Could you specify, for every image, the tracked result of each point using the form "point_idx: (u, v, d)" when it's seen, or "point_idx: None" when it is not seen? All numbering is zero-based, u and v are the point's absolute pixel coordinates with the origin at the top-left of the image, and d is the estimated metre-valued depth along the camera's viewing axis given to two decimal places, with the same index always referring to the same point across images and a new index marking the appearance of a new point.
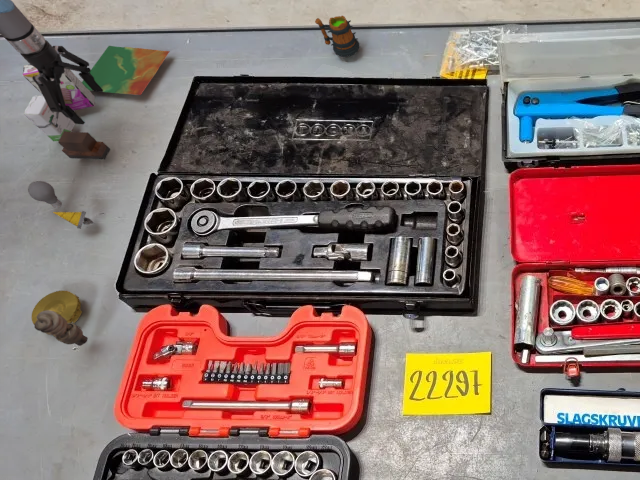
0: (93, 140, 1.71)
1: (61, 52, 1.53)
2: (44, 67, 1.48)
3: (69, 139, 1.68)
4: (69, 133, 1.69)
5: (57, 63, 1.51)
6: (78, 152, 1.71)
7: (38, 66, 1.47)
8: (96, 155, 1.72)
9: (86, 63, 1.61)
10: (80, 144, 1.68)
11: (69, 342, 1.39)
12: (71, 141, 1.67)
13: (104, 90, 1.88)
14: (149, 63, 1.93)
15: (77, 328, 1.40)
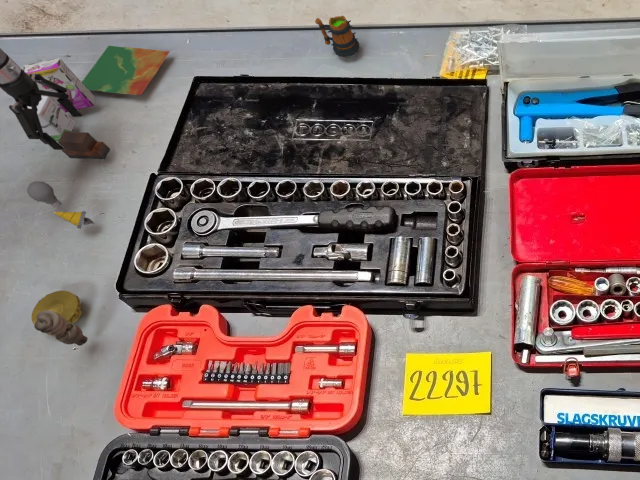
0: (93, 140, 1.71)
1: (38, 80, 1.55)
2: (20, 96, 1.50)
3: (69, 139, 1.68)
4: (69, 133, 1.69)
5: (34, 91, 1.53)
6: (78, 152, 1.71)
7: (15, 95, 1.49)
8: (96, 155, 1.72)
9: (64, 89, 1.63)
10: (80, 144, 1.68)
11: (69, 342, 1.39)
12: (71, 141, 1.67)
13: (104, 90, 1.88)
14: (149, 63, 1.93)
15: (77, 328, 1.40)
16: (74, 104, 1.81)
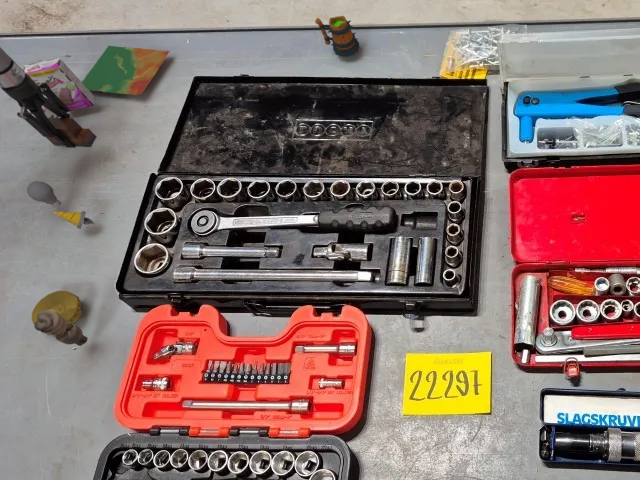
0: (79, 127, 1.66)
1: (43, 88, 1.57)
2: (24, 100, 1.51)
3: (54, 125, 1.62)
4: (54, 119, 1.64)
5: (37, 94, 1.54)
6: None
7: (18, 99, 1.50)
8: (82, 142, 1.67)
9: (66, 108, 1.64)
10: (65, 130, 1.62)
11: (69, 342, 1.39)
12: (56, 127, 1.62)
13: (104, 90, 1.88)
14: (149, 63, 1.93)
15: (77, 328, 1.40)
16: (74, 104, 1.81)
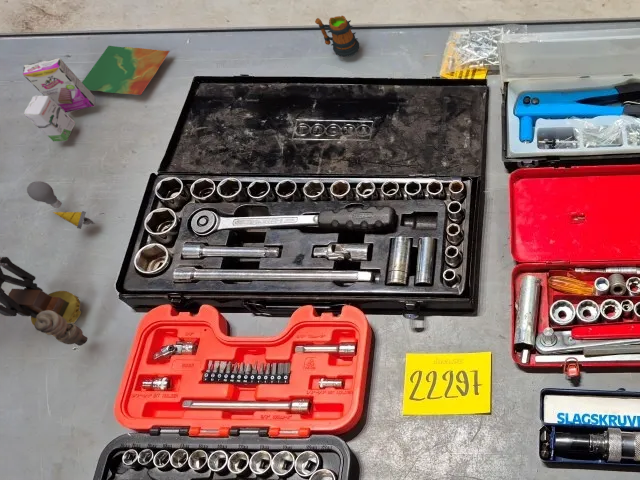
0: (47, 297, 1.44)
1: (3, 263, 1.35)
2: None
3: (18, 299, 1.41)
4: (18, 291, 1.42)
5: None
6: None
7: None
8: None
9: (32, 277, 1.42)
10: (31, 306, 1.40)
11: (69, 342, 1.39)
12: (20, 302, 1.40)
13: (104, 90, 1.88)
14: (149, 63, 1.93)
15: (77, 328, 1.40)
16: (74, 104, 1.81)
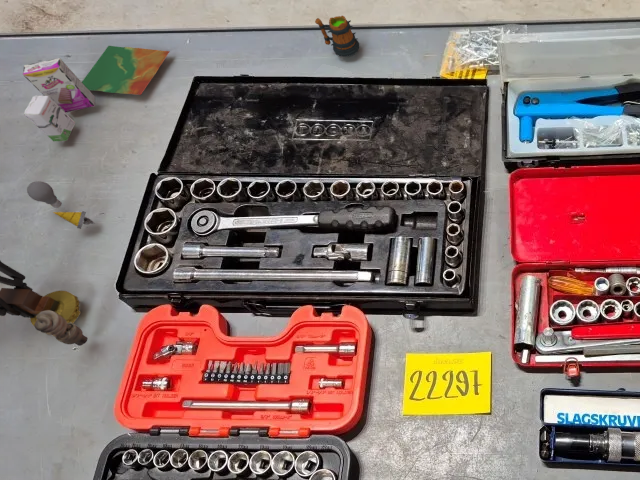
0: (37, 296, 1.44)
1: None
2: None
3: (7, 298, 1.41)
4: (7, 290, 1.42)
5: None
6: None
7: None
8: None
9: (21, 277, 1.42)
10: (21, 305, 1.40)
11: (69, 342, 1.39)
12: (10, 301, 1.40)
13: (104, 89, 1.88)
14: (149, 63, 1.93)
15: (77, 328, 1.40)
16: (74, 104, 1.81)
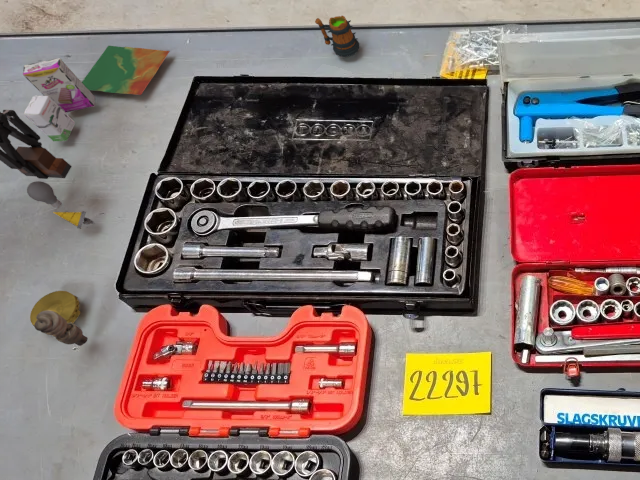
0: (51, 156, 1.52)
1: (10, 116, 1.43)
2: None
3: (23, 155, 1.49)
4: (24, 149, 1.50)
5: (2, 123, 1.40)
6: None
7: None
8: (54, 173, 1.53)
9: (37, 136, 1.50)
10: (36, 161, 1.48)
11: (69, 342, 1.39)
12: (26, 157, 1.48)
13: (104, 89, 1.88)
14: (149, 63, 1.93)
15: (77, 328, 1.40)
16: (74, 104, 1.81)
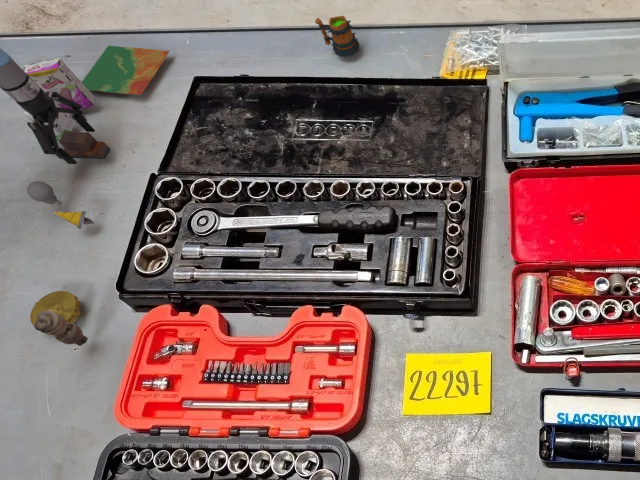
0: (94, 140, 1.71)
1: (55, 97, 1.61)
2: (38, 113, 1.55)
3: (70, 139, 1.68)
4: (70, 133, 1.69)
5: (51, 108, 1.59)
6: (79, 152, 1.71)
7: (33, 112, 1.54)
8: (97, 155, 1.72)
9: (79, 106, 1.69)
10: (81, 144, 1.68)
11: (69, 342, 1.39)
12: (72, 141, 1.67)
13: (104, 89, 1.88)
14: (149, 63, 1.93)
15: (77, 328, 1.40)
16: None
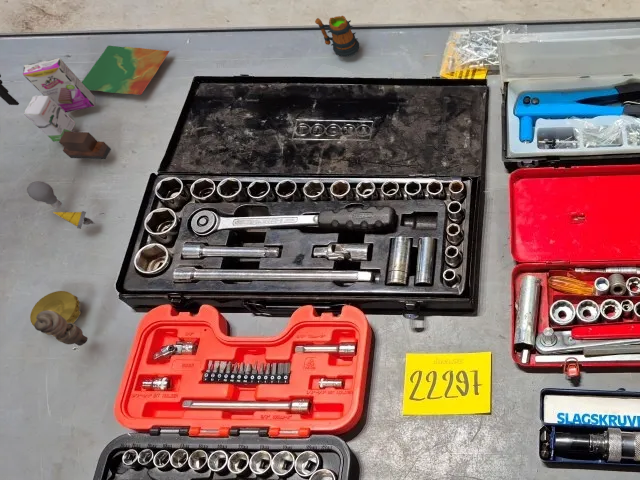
0: (94, 140, 1.71)
1: None
2: None
3: (70, 139, 1.68)
4: (70, 133, 1.69)
5: None
6: (79, 152, 1.71)
7: None
8: (97, 155, 1.72)
9: None
10: (81, 144, 1.68)
11: (69, 342, 1.39)
12: (72, 141, 1.67)
13: (104, 89, 1.88)
14: (149, 63, 1.93)
15: (77, 328, 1.40)
16: (74, 104, 1.81)
